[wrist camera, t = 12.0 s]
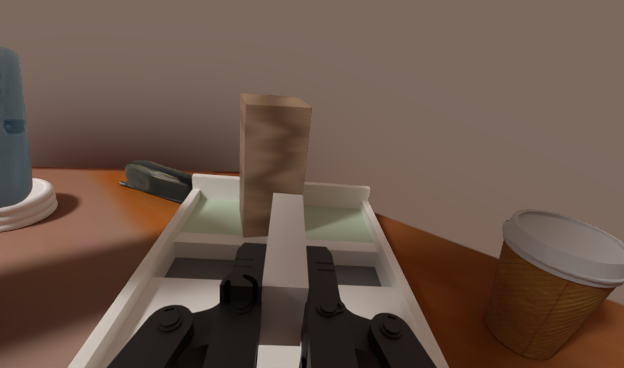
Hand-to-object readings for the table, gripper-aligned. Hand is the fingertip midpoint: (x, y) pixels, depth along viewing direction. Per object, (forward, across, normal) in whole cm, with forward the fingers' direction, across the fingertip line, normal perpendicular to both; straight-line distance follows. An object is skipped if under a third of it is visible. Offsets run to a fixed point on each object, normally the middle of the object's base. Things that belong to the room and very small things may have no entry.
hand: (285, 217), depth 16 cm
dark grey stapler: (+33, -20, -18) cm, 42 cm away
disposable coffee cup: (+7, +25, -16) cm, 31 cm away
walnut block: (+22, -2, -14) cm, 26 cm away
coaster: (+24, -36, -18) cm, 47 cm away
